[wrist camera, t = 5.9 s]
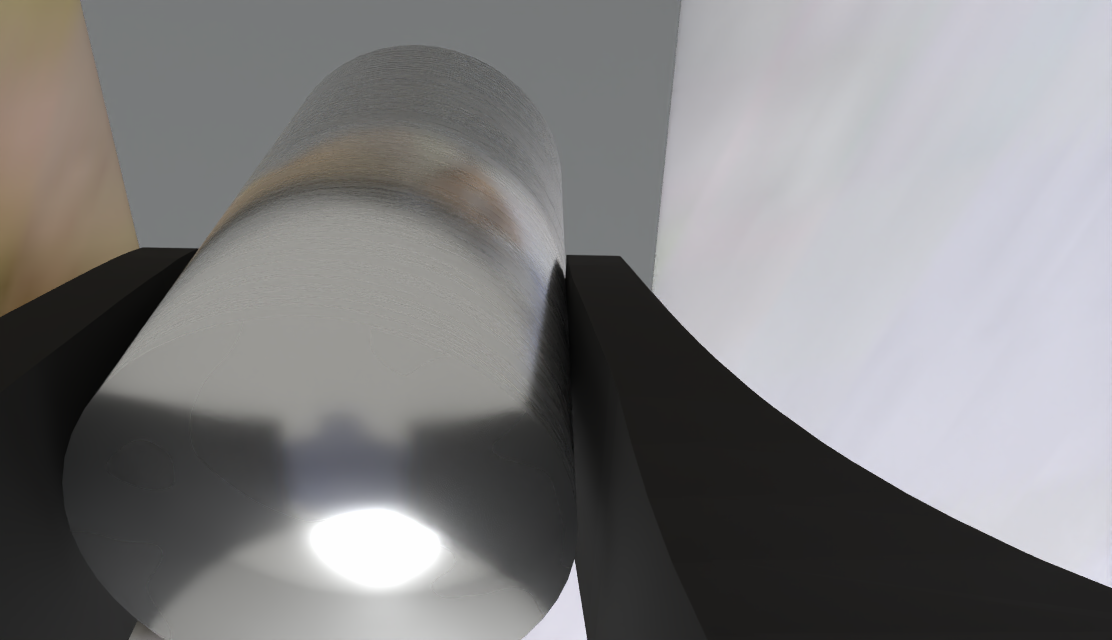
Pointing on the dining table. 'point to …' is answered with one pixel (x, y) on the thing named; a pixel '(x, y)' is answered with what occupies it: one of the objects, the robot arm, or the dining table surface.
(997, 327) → the dining table surface
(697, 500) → the robot arm
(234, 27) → the mat
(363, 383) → the plug
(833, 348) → the dining table surface
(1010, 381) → the dining table surface
